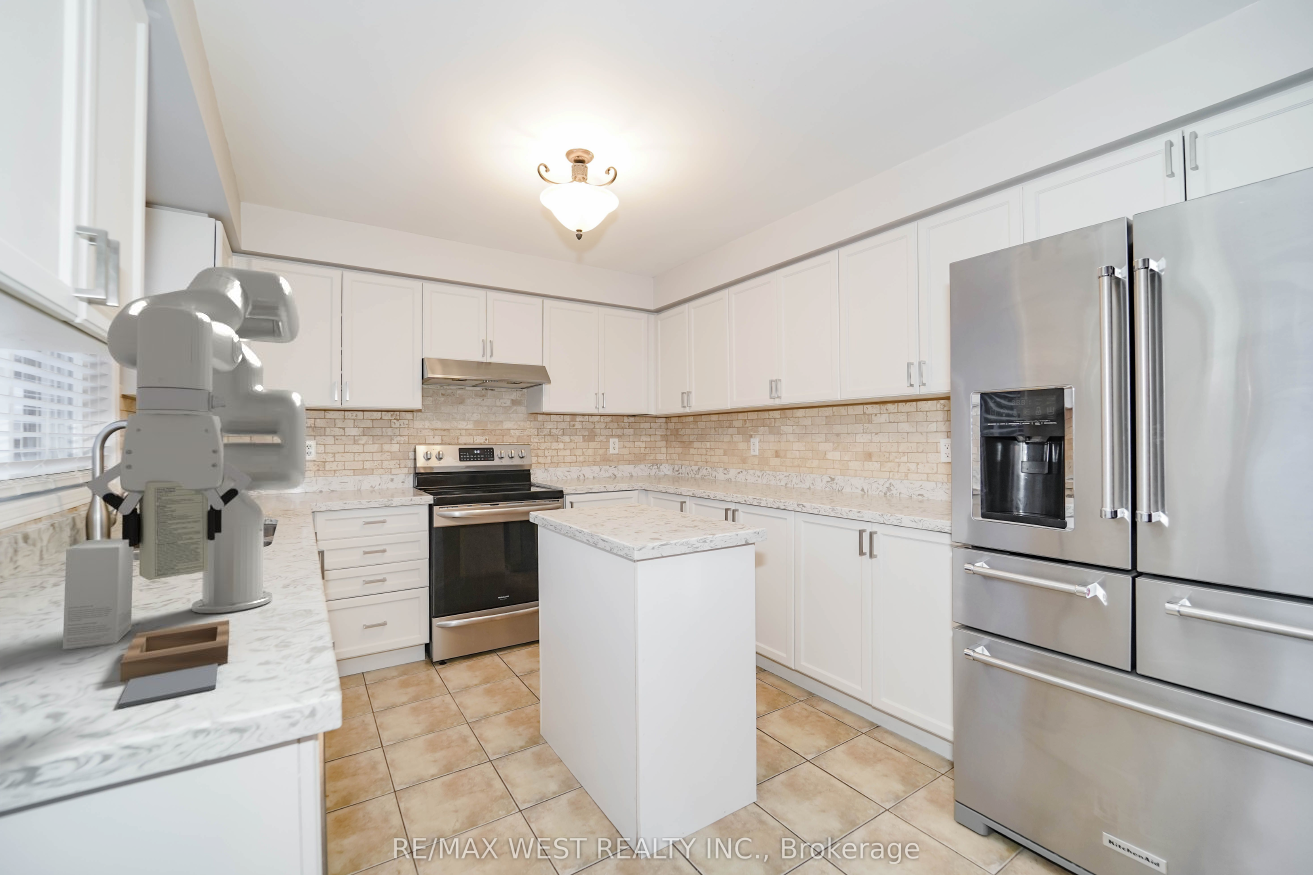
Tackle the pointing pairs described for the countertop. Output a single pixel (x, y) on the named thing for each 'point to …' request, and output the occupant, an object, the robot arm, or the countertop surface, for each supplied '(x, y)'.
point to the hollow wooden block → (176, 649)
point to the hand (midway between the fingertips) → (174, 541)
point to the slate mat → (169, 685)
